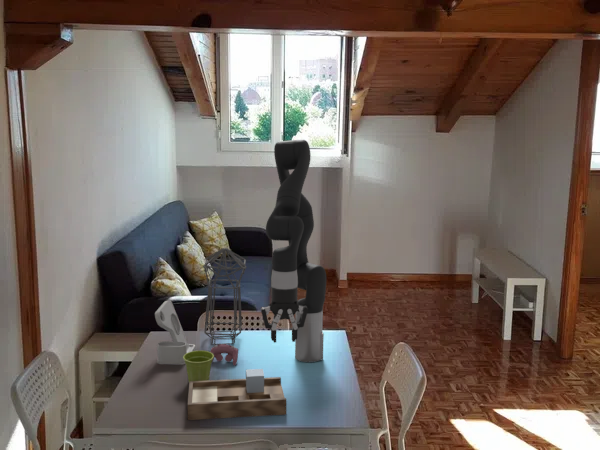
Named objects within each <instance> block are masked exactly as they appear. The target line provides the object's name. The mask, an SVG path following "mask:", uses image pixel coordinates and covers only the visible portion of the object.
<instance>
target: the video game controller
mask: <svg viewBox="0 0 600 450" xmlns="http://www.w3.org/2000/svg"><path fill="white" fill-rule="evenodd" d="M220 344H221V345H214V346H213V347H211V348H210V351H209V352H211V353H213V355H214V358H215V359H214V358H213V359H212V363H213V361H214V360H216V361H217V362H222V361H223V360H225V362H227V363H230V362H232V365H233V366H236V365H237V363H238V359H239V349H238V348H237V347H235V346H234V345H232V344H224V343H220ZM223 354H225V356H223Z"/></svg>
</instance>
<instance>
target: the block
mask: <svg viewBox="0 0 600 450" xmlns="http://www.w3.org/2000/svg"><path fill="white" fill-rule="evenodd" d="M264 378H265V373H264V369H263V368H254V369H252V368H251V369H245V379H246V390H247V393H256V392H264Z"/></svg>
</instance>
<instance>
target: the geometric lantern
mask: <svg viewBox="0 0 600 450" xmlns="http://www.w3.org/2000/svg"><path fill="white" fill-rule="evenodd" d="M220 255H221V256H220ZM219 256H220V258H218V257H219ZM227 257H228V259H227ZM203 260H205V262H204V264H203V266H202V268H203V269H204V274H205V277H206V281H207V283H206V284H207V287H208V288H207V298H206V299H207V301H206V310H205V321H204V335H206V336H208V337H209V338H210V341H211V342H210V344H211V345H212V346H213V345H214V346H216V345H221V344H222V343H216V340H231V342H228V343H223V344H226V345H234V344H235V342H236V338H237V337H238V336H239V335H240V334H241V333H242V324H243V323H242V322H243V319H242V299H241V297H242V296H241V292H242V291H241V280H242V278H243V275H245V271H246V269H247V268H248V267H247V265H246V263H247V261H246V260H247V259H245V258H244V257H243V256H240V255H239V254H237V253H235V252H234V251H232V250H230V249H229V248H227V247H223V248H221V249H219V250H217V251H215V252H214V253H213V254H210V255H208V256H207V257H205V258H204V259H203ZM216 261H217V262H216ZM218 261H219V262H218ZM228 262H230V264H229V266H228V265H227V263H228ZM233 262H235V263H234V264H233V265H232V263H233ZM212 263H214V264H216V265H217V266H213V265H212ZM221 263H222V265H221ZM224 264H225V265H224ZM211 265H212V266H211ZM236 265H238V266H239V267H235V266H236ZM213 269H217V272H216V271H215V270H213ZM209 270H210V271H211V272H212V273H213V274H215V275H216V276H215V278H214V279H212V277H211V274H210V272H209ZM222 270H224V271H225V274H223V275H222V274H221V271H222ZM233 270H234V271H233ZM240 270H241V271H242V272H241V273H240V276H239V279H237V277H236V275H235V273H236V272H238V271H240ZM228 271H230V272H229V273H228ZM220 274H221V275H220ZM230 275H233V276H234V278H235V279H231V278H230ZM208 277H209V278H210V279H209V278H208ZM225 277H227V279H219V278H225ZM217 281H218V282H219V281H222V282H223V281H224V282H225V281H227V282H229V283H230V284H231V286H232V287H226V286H225V287H224V286H222V287H220V286H217ZM212 282H213V283H212ZM233 282H236V283H235V284H236V286H235V285H234V283H233ZM216 286H217V287H216ZM216 289H229V290H230V289H231V290H233V322H217V321H216V322H214V316H215V314H214V313H215V302H216V301H215V300H216V299H215V298H216ZM237 316H238V317H237ZM237 318H238V322H237ZM213 325H233V327H232V329H231V330H216V331H215V330H214V326H213ZM236 325H238V327H236ZM207 329H209V332H208V331H207ZM238 329H239V330H238ZM237 330H238V331H239V332H237ZM227 337H229V338H227ZM230 337H231V338H230Z"/></svg>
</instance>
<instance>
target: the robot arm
mask: <svg viewBox="0 0 600 450" xmlns="http://www.w3.org/2000/svg"><path fill="white" fill-rule="evenodd" d="M273 152H274V155H273V156H274V161H275V165H276V166H275V167H276V170H277V171H276V172H277V174H278V181H279V185H280V186H279V188H278V191H277V194H276V201H275V207H274V208H273V210H272V211H271V213H270V215H269V217H268V219H267V220H266V221H267V222H266V223H265V224H266V225H265V233H266V235H267V237H268V238H269V239H270V240H272V241H287V242H288V245H286V246H284V247H279V248H276V249H274V250H273V251H272V255H271V256H272V258H271V260H272V263H271V264H272V266H271V267H272V271H271V280H270V281H271V285H270V287H271V290H270V291H271V292H270V293H271V294H270V295H271V297H270V298H271V301H270V304H269V305H268V306H265V307H264V306H261V307H260V312H261V317H262V320H263V323H264V324H263V325H264V328H265V329H267V330H270V339H271V341H272V342H273V343H277V326H278V324H279V322H280V320H290V322H291V326H292V327H291V340H292V343H294V342H295V343H294V345H295V347H294V348H295V349H294V357H295V359H296V360H297V361H299V362H302V363H315V362H319V361H324V335H325V334H324V332H323V318H324V317H323V315H324V314H323V312H324V310H323V309H324V305H325V304H324V303H325V300H326V291H327V273H326V269H325V267H323V266H322V265H320V264H315V263H312V262H309V260H308V251H307V250H308V249H307V246H308V243H309V241H310V239H311V236H312V234H313V232H314V227H315V222H314V221H315V220H314V214H313V207H312V205H311V203H310V201H309V200H308V199H307V197H306V196H305V195H304V194H303V193H302V192H303V187H304V183H305V180H306V178H307V175H308V171H309V168H310V163H311V157H312V156H311V147H310V145H309V142H308V141H307V140H305V139H293V140H292V139H291V140H283V141H277V142H276V143H275V145H274V149H273ZM291 170H293V171H292V172H291V173H290V171H291ZM298 289H301V290H303V291H306V292H305V297H303V298H300V299H298ZM270 311H271V314H273V317H272V320H271V323H270V322H269V320H268V317H267V316H268V315H270V314H269V313H270ZM294 316H295V317H294Z"/></svg>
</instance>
